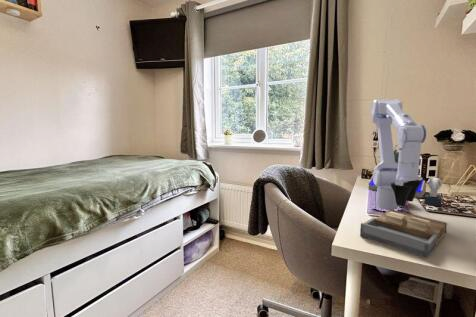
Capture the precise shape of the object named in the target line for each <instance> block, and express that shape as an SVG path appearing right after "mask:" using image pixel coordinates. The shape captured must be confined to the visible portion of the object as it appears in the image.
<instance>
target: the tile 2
mask: <svg viewBox="0 0 476 317" xmlns="http://www.w3.org/2000/svg"><path fill="white" fill-rule="evenodd" d="M429 224H430V221H428V220H424V219H420V218H416V217H411V218H410V219H409V220H407V227H410V228H414V229H417V230H421V231H426V230H427V229H428V228H429Z"/></svg>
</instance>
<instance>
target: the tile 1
mask: <svg viewBox="0 0 476 317" xmlns="http://www.w3.org/2000/svg"><path fill="white" fill-rule="evenodd" d="M406 217H407V215H403V214H399V213H395V212H389V213H388V214H386V217H385V221H387V222H391V223H395V224H399V225H402V224H403V223H405V222H406Z"/></svg>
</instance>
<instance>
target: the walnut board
mask: <svg viewBox="0 0 476 317" xmlns="http://www.w3.org/2000/svg"><path fill="white" fill-rule="evenodd" d="M389 212H395V213H399V214H403V215H407V217H406V222H405V223H403V224H402V225H399V224H395V223H391V222H387V221H385V217H386V214H388V213H389ZM411 217H416V218H420V219H424V220H428V221H430V224H429V228H428V229H427V230H426V231H421V230H417V229H414V228H410V227H407V220H409V219H410V218H411ZM375 224H376V225H379V226H383V227H386V228H390V229H393V230H397V231H400V232H404V233H407V234H411V235H414V236H418V237H421V238H425V239H428V240H429V239H430V238H431V237H432V236H433V234H435V235H437V243H436V245H437V244H438V242H440V240H441V239H442V237H444V235H446V233H447V229H448V228H447V227H448V222H446V221H441V220H439V219H438V220H437V219H433V218H429V217H424V216H419V215H416V214H413V213H412V214H411V213H407V212H404V211H400V210H399V211H395V210H389V211H387V212H383V214H381V215H380V216H378V217H376V220H375Z"/></svg>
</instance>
